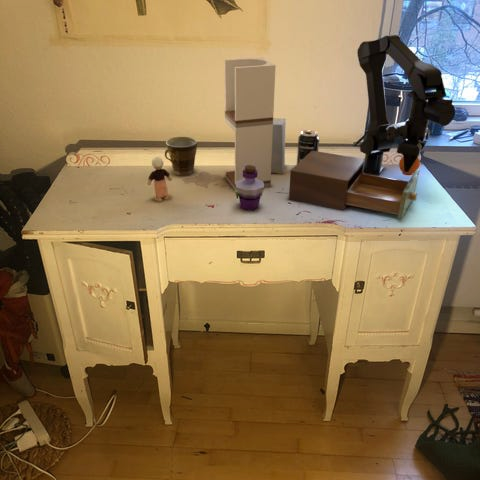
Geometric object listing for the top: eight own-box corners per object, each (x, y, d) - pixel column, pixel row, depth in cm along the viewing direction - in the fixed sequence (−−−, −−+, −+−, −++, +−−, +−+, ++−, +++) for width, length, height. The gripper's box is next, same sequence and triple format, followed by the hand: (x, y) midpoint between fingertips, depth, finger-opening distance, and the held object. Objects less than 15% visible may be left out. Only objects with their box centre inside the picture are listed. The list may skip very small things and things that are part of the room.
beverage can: (305, 163, 181) (308, 128, 174) (320, 169, 177) (324, 133, 170) (291, 168, 177) (294, 132, 170) (307, 174, 173) (310, 137, 166)
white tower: (258, 174, 173) (262, 57, 152) (270, 186, 165) (275, 65, 144) (225, 178, 171) (224, 59, 149) (235, 191, 163) (235, 67, 141)
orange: (399, 168, 166) (403, 148, 162) (419, 171, 164) (423, 151, 160) (395, 175, 161) (399, 154, 158) (415, 178, 159) (419, 158, 156)
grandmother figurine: (166, 193, 161) (163, 152, 153) (174, 197, 159) (171, 155, 151) (146, 200, 157) (141, 159, 149) (154, 204, 154) (150, 162, 147)
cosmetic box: (282, 174, 173) (284, 125, 164) (260, 172, 174) (262, 123, 165) (285, 165, 180) (288, 117, 170) (264, 163, 181) (266, 116, 171)
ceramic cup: (181, 164, 180) (180, 134, 174) (204, 170, 176) (203, 140, 169) (155, 175, 172) (152, 145, 166) (178, 183, 167) (176, 152, 161)
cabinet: (309, 177, 171) (311, 150, 166) (360, 187, 165) (365, 159, 160) (288, 199, 158) (290, 170, 152) (343, 210, 152) (347, 180, 147)
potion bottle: (230, 203, 156) (229, 163, 148) (256, 198, 158) (257, 159, 151) (241, 215, 149) (242, 174, 142) (269, 210, 152) (270, 169, 145)
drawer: (359, 184, 165) (363, 160, 160) (420, 194, 159) (425, 170, 154) (342, 206, 152) (346, 181, 147) (407, 219, 145) (413, 193, 141)
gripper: (398, 104, 162) (389, 154, 171) (383, 121, 148) (374, 174, 158) (435, 109, 158) (424, 160, 167) (424, 126, 144) (412, 181, 154)
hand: (408, 168), depth 162 cm, fingers closed on orange, 6 cm apart
